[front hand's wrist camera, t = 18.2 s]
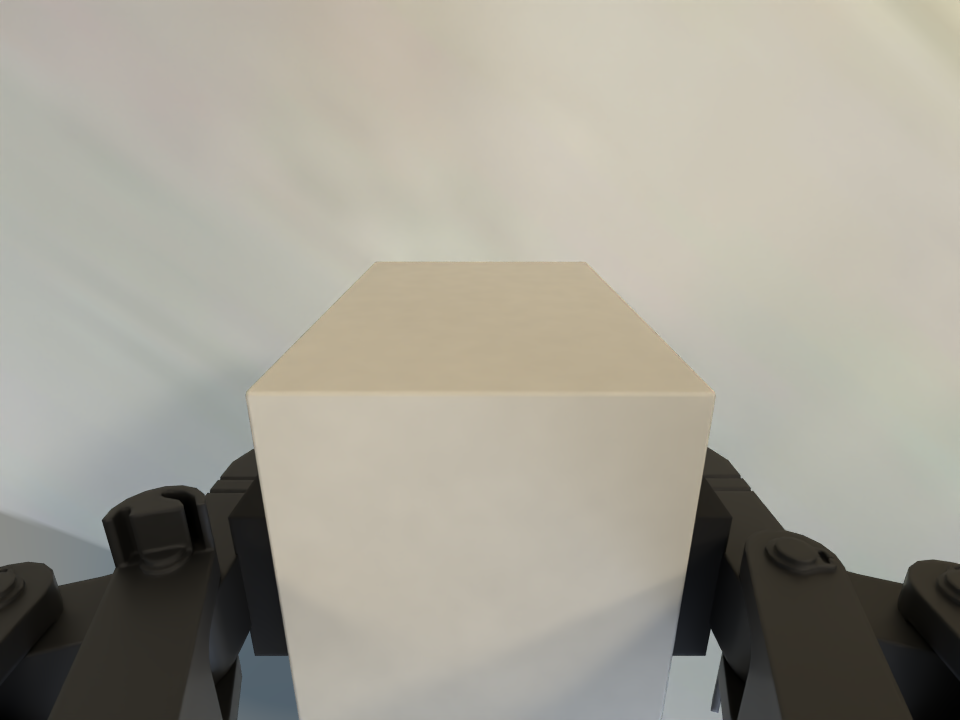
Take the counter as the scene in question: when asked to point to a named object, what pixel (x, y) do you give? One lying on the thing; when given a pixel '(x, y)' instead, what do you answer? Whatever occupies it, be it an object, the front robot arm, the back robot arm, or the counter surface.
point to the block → (480, 496)
